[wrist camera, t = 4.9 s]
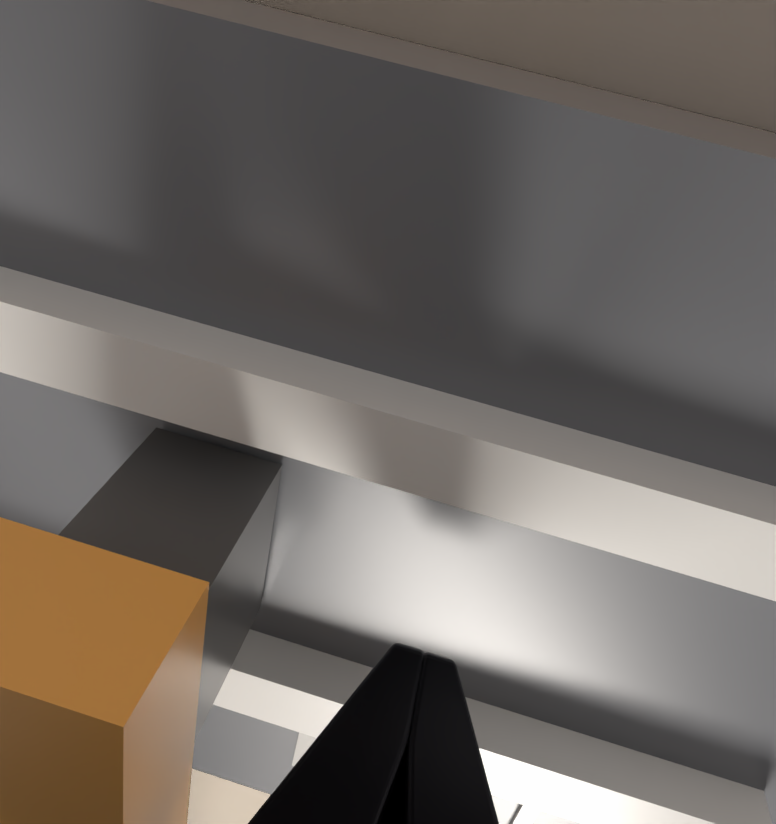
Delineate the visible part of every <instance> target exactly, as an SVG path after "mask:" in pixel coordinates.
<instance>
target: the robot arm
mask: <svg viewBox="0 0 776 824" xmlns="http://www.w3.org/2000/svg"><path fill="white" fill-rule="evenodd" d="M248 824H499V821H498V818H497V814H496V810H495V806H494V803H493V799H492V795H491V791H490V788H489V784H488V780H487V776H486V773H485V769H484V765H483V761H482V758H481V754H480V750H479V746H478V743H477V739H476V735H475V731H474V728H473V724H472V720H471V716H470V713H469V709H468V705H467V701H466V698H465V694H464V690H463V686H462V683H461V679H460V675H459V671H458V668H457V665H456V663H455V662H454V661H453V660H452V659H449V658H446V657H443V656H440V655H437V654H433V653H430V652H426V653H424V652H423V651H422V650H420V649H418V648H414V647H411V646H408V645H405V644H402V643H394V644H393V645H391V646H390V648H389V649H388V650H387V651H386V652H385V654H384V655H383V656H382V657H381V659H380V660H379V661H378V662H377V664H376V665H375V666H374V667H373V669H372V670H371V671H370V672H369V674H368V675H367V676H366V677H365V679H364V680H363V681H362V682H361V684H360V685H359V686H358V687H357V689H356V690H355V691H354V692H353V694H352V695H351V696H350V697H349V699H348V700H347V701H346V702H345V704H344V705H343V706H342V707H341V708H340V710H339V711H338V712H337V713H336V715H335V716H334V717H333V718H332V720H331V721H330V722H329V723H328V725H327V726H326V727H325V728H324V730H323V731H322V732H321V733H320V735H319V736H318V737H317V738H316V740H315V741H314V742H313V743H312V745H311V746H310V747H309V748H308V750H307V751H306V752H305V753H304V755H303V756H302V757H301V758H300V760H299V761H298V762H297V763H296V765H295V766H294V767H293V768H292V769H291V771H290V772H289V773H288V774H287V776H286V777H285V778H284V779H283V781H282V782H281V783H280V784H279V786H278V787H277V788H276V789H275V791H274V792H273V793H272V794H271V796H270V797H269V798H268V799H267V801H266V802H265V803H264V804H263V806H262V807H261V808H260V809H259V811H258V812H257V813H256V814H255V816H254V817H253V818H252V819H251V821H250V822H249V823H248Z"/></svg>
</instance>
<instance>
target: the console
mask: <svg viewBox="0 0 776 824" xmlns="http://www.w3.org/2000/svg"><path fill="white" fill-rule="evenodd" d="M156 427H157V428H160V429H163V430H167V431H170V432H173V433H177V434H180V435H184V436H187V437H190V438H194V439H197V440H200V441H204V442H207V443H211V444H214V445H217V446H221V447H224V448H227V449H231V450H234V451H237V452H241V453H244V454H248V455H251V456H254V457H258V458H261V459H264V460H268V461H271V462H275V463H278V464H281V465H282V469H281V476H280V482H279V489H278V496H277V502H276V509H275V515H274V522H273V529H272V535H271V542H270V548H269V555H268V561H267V568H266V575H265V581H264V588H263V594H262V601H261V607H260V609H259V611H258V613H257V615H256V617H255V619H254V621H253V623H252V625H251V627H250V630H249V632H248V634H247V636H246V638H245V640H244V642H243V644H242V646H241V648H240V650H239V652H238V654H237V656H236V658H235V660H234V662H233V664H232V666H231V668H230V670H229V672H228V675H227V677H226V679H225V681H224V683H223V685H222V687H221V689H220V691H219V693H218V695H217V697H216V699H215V701H214V703H213V705H212V707H211V709H210V711H209V713H208V715H207V717H206V720H205V722H204V724H203V726H202V728H201V730H200V732H199V734H198V736H197V738H196V740H195V742H194V752H193V762H192V768H193V769H196V770H199V771H202V772H205V773H208V774H211V775H214V776H217V777H220V778H223V779H226V780H229V781H232V782H235V783H238V784H241V785H244V786H247V787H250V788H253V789H256V790H259V791H262V792H265V793H268V794H272V793H273V792H274V791H275V789H276V788H277V787H278V786H279V784H280V783H281V782H282V781H283V779H284V778H285V777H286V776H287V774H288V773H289V772H290V771H291V769H292V768H293V767H294V766H295V765H296V763H297V762H298V761H299V760H300V758H301V757H302V756H303V755H304V753H305V752H306V751H307V750H308V748H309V747H310V746H311V745H312V743H313V742H314V741H315V740H316V738H317V737H318V736H319V735H320V733H321V732H322V731H323V730H324V728H325V727H326V726H327V725H328V723H329V722H330V721H331V720H332V718H333V717H334V716H335V715H336V713H337V712H338V711H339V710H340V708H341V707H342V706H343V705H344V704H345V702H346V701H347V700H348V699H349V697H350V696H351V695H352V694H353V692H354V691H355V690H356V689H357V687H358V686H359V685H360V684H361V682H362V681H363V680H364V679H365V677H366V676H367V675H368V674H369V672H370V671H371V670H372V669H373V667H374V666H375V665H376V664H377V662H378V661H379V660H380V659H381V657H382V656H383V655H384V654H385V652H386V651H387V650H388V649H389V648H390V646H391V645H393V644H394V643H402V644H405V645H408V646H411V647H414V648H418V649H420V650H422V651H423V652H424V653H426V652H430V653H433V654H437V655H440V656H443V657H446V658H449V659H452V660H453V661H454V662H455V663H456V665H457V668H458V671H459V675H460V679H461V683H462V686H463V690H464V694H465V698H466V701H467V705H468V709H469V713H470V716H471V720H472V724H473V728H474V731H475V735H476V739H477V743H478V746H479V750H480V754H481V758H482V761H483V765H484V769H485V773H486V776H487V780H488V784H489V788H490V791H491V795H492V799H493V803H494V806H495V810H496V814H497V818H498V821H499V824H776V133H774V132H770V131H766V130H762V129H758V128H754V127H750V126H746V125H742V124H738V123H734V122H730V121H726V120H722V119H718V118H714V117H710V116H706V115H702V114H698V113H694V112H690V111H686V110H682V109H678V108H674V107H670V106H666V105H662V104H658V103H654V102H650V101H646V100H642V99H638V98H634V97H630V96H626V95H622V94H618V93H614V92H610V91H606V90H602V89H598V88H594V87H590V86H586V85H582V84H578V83H574V82H569V81H565V80H561V79H557V78H553V77H549V76H545V75H541V74H537V73H533V72H529V71H525V70H521V69H517V68H513V67H509V66H505V65H501V64H497V63H493V62H489V61H485V60H481V59H477V58H473V57H469V56H465V55H461V54H457V53H453V52H449V51H445V50H441V49H437V48H433V47H429V46H425V45H421V44H417V43H413V42H409V41H405V40H401V39H397V38H393V37H389V36H385V35H381V34H377V33H373V32H369V31H365V30H361V29H357V28H353V27H349V26H345V25H341V24H337V23H333V22H329V21H325V20H321V19H317V18H313V17H309V16H305V15H301V14H297V13H293V12H289V11H285V10H281V9H277V8H273V7H269V6H265V5H261V4H257V3H253V2H249V1H245V0H0V517H1V518H5V519H8V520H11V521H14V522H17V523H21V524H24V525H27V526H30V527H33V528H37V529H40V530H43V531H46V532H50V533H53V534H56V535H59V533H60V532H61V531H62V530H63V529H64V528H65V527H66V526H67V525H68V524H69V523H70V521H71V520H72V519H73V518H74V517H75V516H76V515H77V514H78V513H79V512H80V510H81V509H82V508H83V507H84V506H85V505H86V504H87V503H88V502H89V501H90V500H91V498H92V497H93V496H94V495H95V494H96V493H97V492H98V491H99V490H100V489H101V488H102V486H103V485H104V484H105V483H106V482H107V481H108V480H109V479H110V478H111V477H112V475H113V474H114V473H115V472H116V471H117V470H118V469H119V468H120V467H121V466H122V465H123V463H124V462H125V461H126V460H127V459H128V458H129V457H130V456H131V455H132V454H133V452H134V451H135V450H136V449H137V448H138V447H139V446H140V445H141V444H142V443H143V442H144V440H145V439H146V438H147V437H148V436H149V435H150V434H151V433H152V432H153V431H154V429H155V428H156Z"/></svg>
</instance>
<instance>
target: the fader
mask: <svg viewBox="0 0 776 824" xmlns="http://www.w3.org/2000/svg"><path fill="white" fill-rule="evenodd" d="M281 469H282V465H281V464H278V463H275V462H271V461H268V460H264V459H261V458H258V457H254V456H251V455H248V454H244V453H241V452H237V451H234V450H231V449H227V448H224V447H221V446H217V445H214V444H211V443H207V442H204V441H200V440H197V439H194V438H190V437H187V436H184V435H180V434H177V433H173V432H170V431H167V430H163V429H160V428H157V427H156V428H155V429H154V431H153V432H152V433H151V434H150V435H149V436H148V437H147V438H146V439H145V440H144V442H143V443H142V444H141V445H140V446H139V447H138V448H137V449H136V450H135V451H134V452H133V454H132V455H131V456H130V457H129V458H128V459H127V460H126V461H125V462H124V463H123V465H122V466H121V467H120V468H119V469H118V470H117V471H116V472H115V473H114V474H113V475H112V477H111V478H110V479H109V480H108V481H107V482H106V483H105V484H104V485H103V486H102V488H101V489H100V490H99V491H98V492H97V493H96V494H95V495H94V496H93V497H92V498H91V500H90V501H89V502H88V503H87V504H86V505H85V506H84V507H83V508H82V509H81V510H80V512H79V513H78V514H77V515H76V516H75V517H74V518H73V519H72V520H71V521H70V523H69V524H68V525H67V526H66V527H65V528H64V529H63V530H62V531H61V532H60V533H59V535H56V534H53V533H50V532H46V531H43V530H40V529H37V528H33V527H30V526H27V525H24V524H21V523H17V522H14V521H11V520H8V519H5V518H1V517H0V824H187V815H188V805H189V794H190V784H191V773H192V762H193V752H194V742H195V740H196V738H197V736H198V734H199V732H200V730H201V728H202V726H203V724H204V722H205V720H206V717H207V715H208V713H209V711H210V709H211V707H212V705H213V703H214V701H215V699H216V697H217V695H218V693H219V691H220V689H221V687H222V685H223V683H224V681H225V679H226V677H227V675H228V672H229V670H230V668H231V666H232V664H233V662H234V660H235V658H236V656H237V654H238V652H239V650H240V648H241V646H242V644H243V642H244V640H245V638H246V636H247V634H248V632H249V630H250V627H251V625H252V623H253V621H254V619H255V617H256V615H257V613H258V611H259V609H260V607H261V601H262V594H263V588H264V581H265V575H266V568H267V561H268V555H269V548H270V542H271V535H272V529H273V522H274V515H275V509H276V502H277V496H278V489H279V482H280V476H281Z"/></svg>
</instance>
